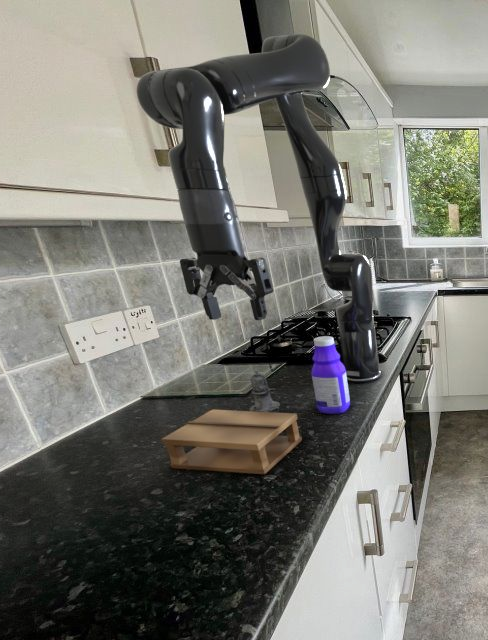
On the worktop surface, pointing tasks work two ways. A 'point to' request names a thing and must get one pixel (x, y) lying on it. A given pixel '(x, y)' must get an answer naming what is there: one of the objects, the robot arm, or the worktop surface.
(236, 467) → the oak rack
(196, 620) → the worktop surface
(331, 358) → the bottle
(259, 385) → the grey tall turned figure
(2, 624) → the worktop surface
